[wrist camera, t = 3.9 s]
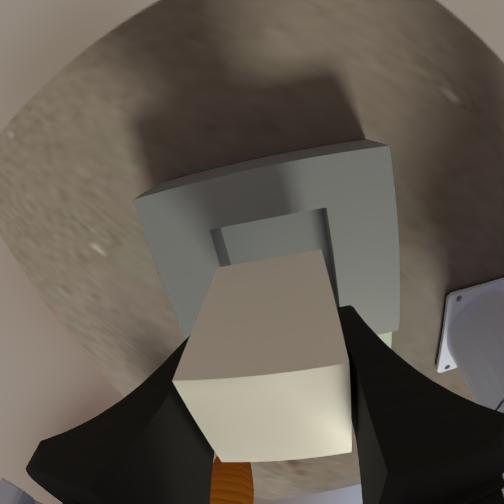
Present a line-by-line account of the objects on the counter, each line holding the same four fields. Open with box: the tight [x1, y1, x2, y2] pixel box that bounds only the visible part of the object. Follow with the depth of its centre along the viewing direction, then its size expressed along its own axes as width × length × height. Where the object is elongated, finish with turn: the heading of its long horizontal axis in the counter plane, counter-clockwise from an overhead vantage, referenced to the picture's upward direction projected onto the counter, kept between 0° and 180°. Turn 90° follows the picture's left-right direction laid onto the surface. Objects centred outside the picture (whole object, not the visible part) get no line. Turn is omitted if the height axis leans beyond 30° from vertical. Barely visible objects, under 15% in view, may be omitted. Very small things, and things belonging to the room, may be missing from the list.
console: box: [133, 139, 400, 348], centre depth 19 cm, size 20×12×4 cm, turn 13°
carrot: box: [210, 456, 254, 504], centre depth 21 cm, size 5×5×15 cm
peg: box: [172, 249, 352, 462], centre depth 10 cm, size 4×4×6 cm
